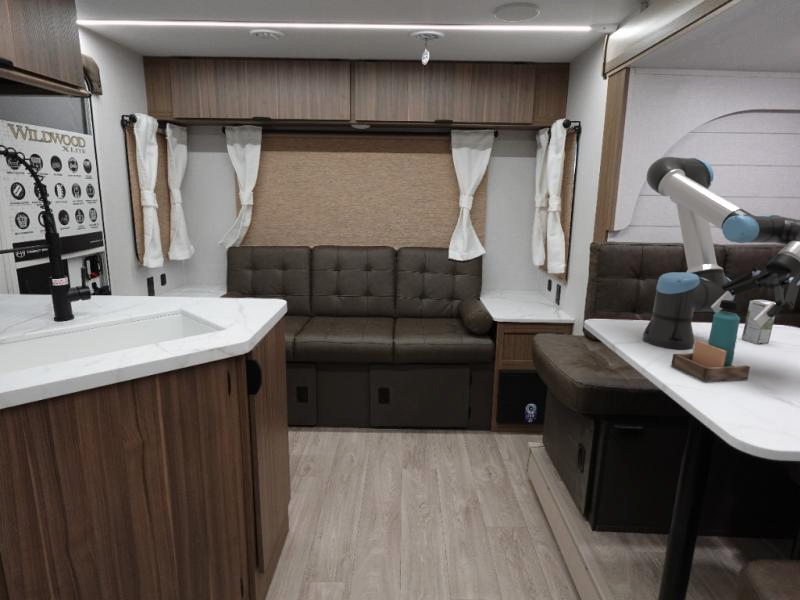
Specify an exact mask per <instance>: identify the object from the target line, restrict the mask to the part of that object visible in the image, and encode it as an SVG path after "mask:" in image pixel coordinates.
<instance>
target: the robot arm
mask: <svg viewBox="0 0 800 600" xmlns="http://www.w3.org/2000/svg"><path fill="white" fill-rule="evenodd" d="M713 181H714V171H713V168H712V166H711V165H710V164H709V162H707V161H706V160H703V159H698V158H695V157H690V158H687V157H686V158H685V157H676V156H665V157H661V158H659V159H657V160H655V161H654V162H652V163H651V165H650V166H649V168H648V170H647V172H646V182H647V184H648V186H649V187H650V189H652V190H653V191H655V193H657V194H659V195H660V196H663V197H669V199H670V201H671V202H672V203H674V204H676V208H677V215H678V221H679V226H680V231H681V237H682V244H683V249H684V254H685V259H686V264H687V265H686V266H687V270H686V272H685V271H684V272H681V271H680V272H676V271H675V272H666V273H663V274H661V275H660V276H658V280H657V284H656V287H655V297H654V303H653V308H652V316H651V318H650V320H649V322H648V324H647V326H646V328H645V329H644V331H643V335H642V340H643V341H644V342H646V343H649V344H651V345H654V346H658V347H661V348H667V349H675V350H689V349H692V348H693V349H694V346H695V335H694V332H693V330H694V329H693V325H692V321H693V315H694V312H696V313H698V312H709V313H710V312H712V313H714V314H715V313H717V312H719V311H723V310H724V309H723V308H720V307H719V306H720V303H721V301H722V300H730V301H735V300H734V299H735V296H736V295H739V294H742V293H745V292H747V291H750V290H752V289H755V288H756V289H760V288H763V289H769V290H774V299H775V300H774V303H776V304H774V303H772V302H773V301H771V303H770V304H769V305H768V306H767V307H766V308H765V309H764V310H763V311H762V312H761V313H760V314H759V315H758V316H757V317H755V318H754V319H753V320H754V322H755V323H756V325H757V326H758V327H761V326H762V325H763V324H764V323H765V322H766V321H767V320H768V319H769V318H770V317H774V316H775V317H776V316H777V314H779V313H780V311H782V310H783V311H784V310H788V311H791V310H793V309H794V308H795V304H796V300H797V296H798V294H799V289H800V219H796V218H791V217H785V216H780V215H777V214H764V215H754V214H752V213H750V212H749V211H746V210H745V209H744V208H742V207H740V206H738V205H736V204H735V203H733V202H731V201H730V200H728V199H726V198H725V197H723V196H720V194H718V193H715V192H714V191H712V190H711V189H710V187H711V186H712V182H713ZM710 223H711V224H712V225H714V226H715V227H717V228H719V230H721V233H722V234H723V236H724V238H725V239H726V240H727V241H729V242H732V243H739V244H744V243H745V244H746V243H749V244H752V243H753V244H754V243H756V244H758V243H759V244H760V243H762V244H764V243H765V244H769V243H770V244H780V245H785V246H783V248H781V249H780V250H779V252H778V253H777V254H776V255H775V256H773V257H772V259H770V260H769V261H768V262H767V264H766V267H765V269H763V270H758V269H757V267H752V268H751V269H750V270H748V271H747V272H745V273H743V274H741V275H740V276H738V277H736V278H734V279H732V280H731V279H730V278H729V277H727V276H726V275H725V272H724V268H723V267H721V266H719V265H718V263H717V258H716V252H715V246H714V241H713V236H712V235H713V234H712V230H711V224H710ZM757 280H758V281H757ZM788 284H789V285H788ZM786 285H788V287H787V290H786V294H784V292H785V288H784V286H786Z"/></svg>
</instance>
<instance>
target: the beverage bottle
mask: <svg viewBox="0 0 800 600" xmlns="http://www.w3.org/2000/svg"><path fill="white" fill-rule="evenodd" d="M738 306H739V304H738V302H737V301H735V300H733V301H730V300H722V301H721V303H720V306H719V307H720V308H723V309H722V310H721V311H719V312H717V313H715V312H714V314H713V317H712V322H711V328H710V331H709V339H708V340H707V344H709V345H712V346H715V347H717V348H720V349H722V350H725V351H727V352H726V357H725V362H724V367H727V366H732V365H733V361H734V355H735V350H736V344H737V338H738V331H739V326H740V321H741V317H740V316H739V315H738V314H737V313H735V312H731V311H737V310H738ZM723 310H728V311H723ZM729 310H730V312H729Z"/></svg>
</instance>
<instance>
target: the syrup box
mask: <svg viewBox="0 0 800 600" xmlns="http://www.w3.org/2000/svg"><path fill="white" fill-rule="evenodd" d="M771 302H772V303H774V304H776V303H775V301H771V300H765V299H753V300H751V299H750V300H749V305H748V308H747V313H746V317H745V321H744V327H743V331H742V335H741V340H742V341H745V340H746V341H745V342H748V341H749V343H751V342H753V344H755V343H756V344H755V345H761V344H760V343H765V344H769V343H770V339H771V335H772V330H773V326H774V322H775V317H776V315H775V316H774V317H770V318H769V319H768V320H767V321H766V322H765V323H764V324H763V325H762V326H761V327H758V326H757V325H756V323H755V322H754V320H753V319H754V318H755V317H757V316H758V315H759V314H760V313H761V312H762V311H763V310H764V309H765V308H766V307H767V306H768V305H769V304H770V303H771Z"/></svg>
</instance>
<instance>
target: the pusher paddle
mask: <svg viewBox="0 0 800 600" xmlns="http://www.w3.org/2000/svg"><path fill="white" fill-rule="evenodd" d="M726 352H727V351H725V350H722V349H720V348H717V347H715V346H712V345H709V344H708V342H707V343H706V342H703V341H701V340H698V339H697V340H696V339H695V340H694V345H693V352H692V353H693V357H692V361H694V362H696V363H698V364H701V365H703V366H705V367H724V362H725V357H726Z"/></svg>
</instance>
